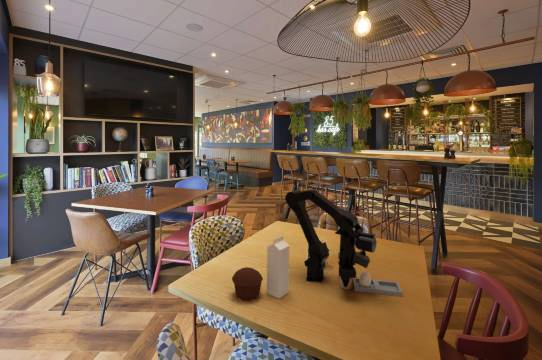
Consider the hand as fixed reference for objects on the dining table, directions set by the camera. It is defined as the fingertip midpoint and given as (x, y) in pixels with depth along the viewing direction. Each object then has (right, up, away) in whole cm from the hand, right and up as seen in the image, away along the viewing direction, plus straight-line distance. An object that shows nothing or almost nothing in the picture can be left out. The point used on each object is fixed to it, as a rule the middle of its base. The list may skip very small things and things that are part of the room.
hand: (345, 284), depth 115 cm
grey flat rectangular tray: (+12, -2, 0) cm, 12 cm away
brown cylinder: (0, -1, 0) cm, 1 cm away
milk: (-27, -2, -4) cm, 27 cm away
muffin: (-39, -3, -5) cm, 39 cm away
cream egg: (+8, -1, +1) cm, 8 cm away
